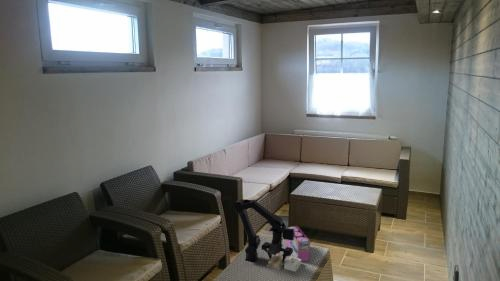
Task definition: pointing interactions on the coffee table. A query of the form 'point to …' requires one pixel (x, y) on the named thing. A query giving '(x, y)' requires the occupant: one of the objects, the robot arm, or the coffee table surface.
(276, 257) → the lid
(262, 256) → the coffee table surface
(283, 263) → the mat
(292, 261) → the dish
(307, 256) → the gum box
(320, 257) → the coffee table surface
